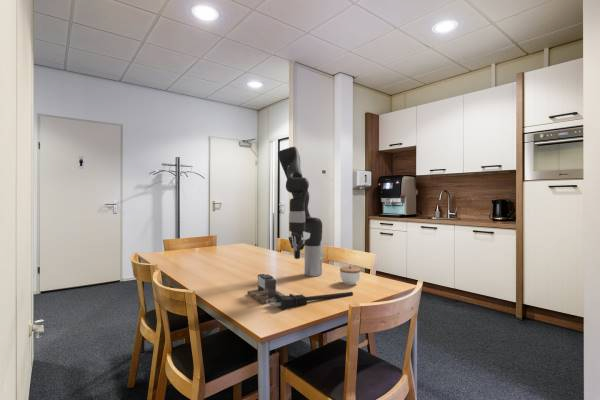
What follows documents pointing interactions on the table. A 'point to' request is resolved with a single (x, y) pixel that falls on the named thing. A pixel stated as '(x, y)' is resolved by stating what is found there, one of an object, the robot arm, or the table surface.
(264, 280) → the cutter head
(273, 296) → the cutter stand
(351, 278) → the lidded jar
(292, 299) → the electrical plug
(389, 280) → the table surface
